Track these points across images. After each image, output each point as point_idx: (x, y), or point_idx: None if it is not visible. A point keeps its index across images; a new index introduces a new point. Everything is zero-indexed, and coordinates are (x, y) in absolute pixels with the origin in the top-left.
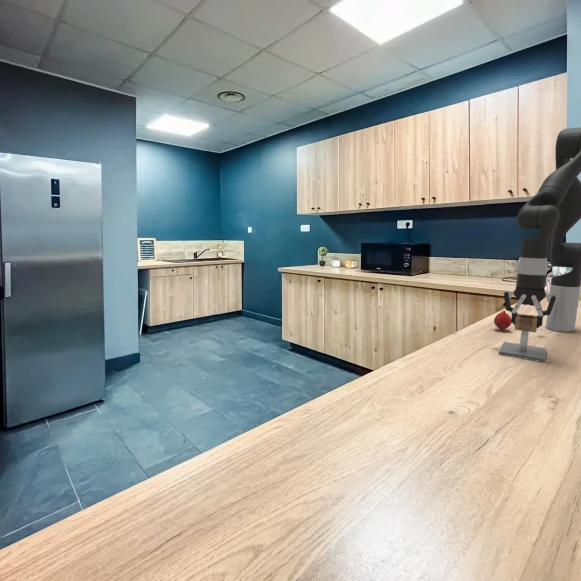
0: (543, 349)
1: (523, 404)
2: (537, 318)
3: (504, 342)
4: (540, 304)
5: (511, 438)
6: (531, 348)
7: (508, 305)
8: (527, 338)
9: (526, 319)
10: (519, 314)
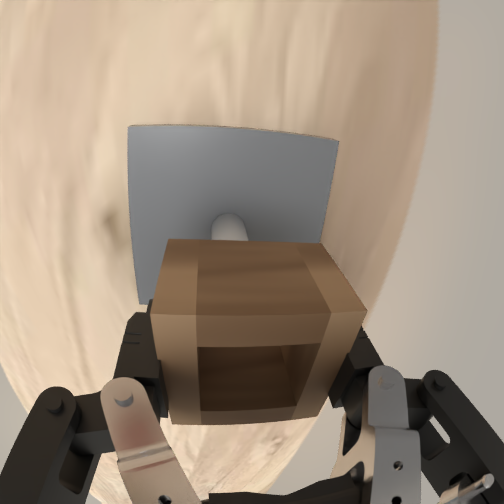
0: (322, 170)
1: (238, 459)
2: (329, 394)
3: (131, 141)
4: (419, 450)
5: (230, 483)
6: (267, 181)
7: (85, 475)
8: None
9: (247, 415)
10: (176, 340)
